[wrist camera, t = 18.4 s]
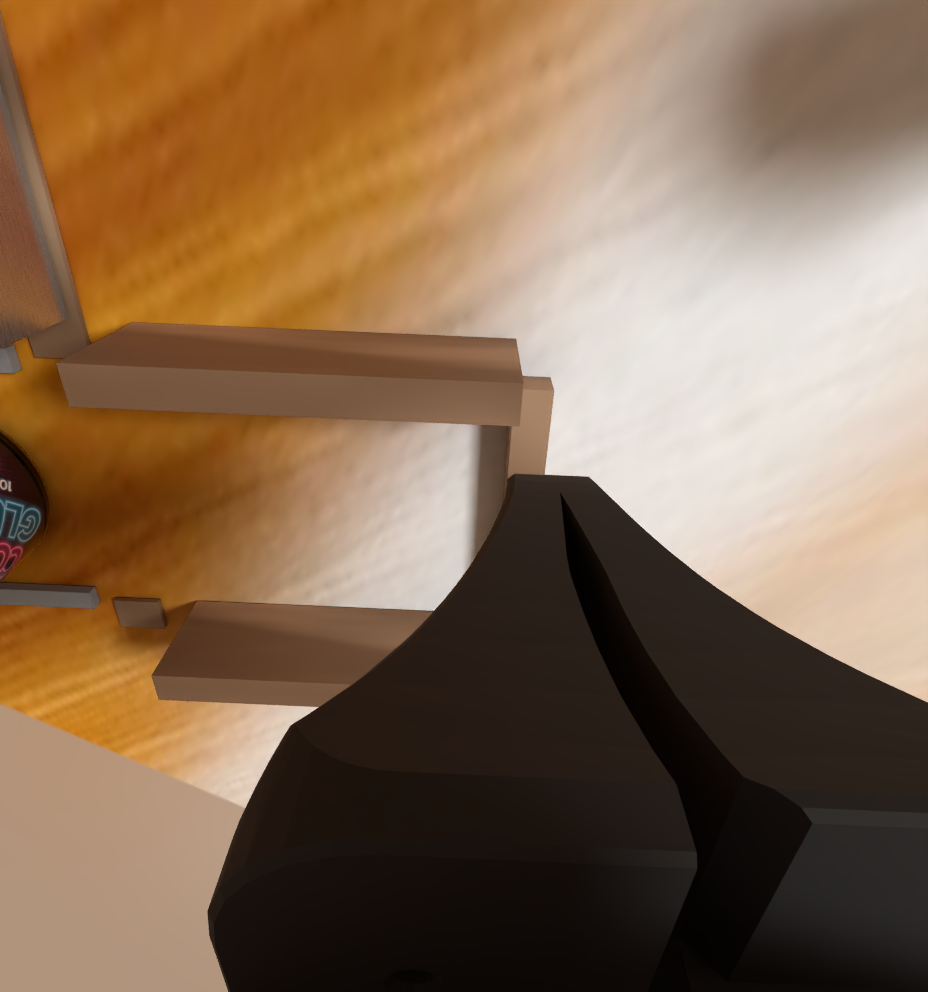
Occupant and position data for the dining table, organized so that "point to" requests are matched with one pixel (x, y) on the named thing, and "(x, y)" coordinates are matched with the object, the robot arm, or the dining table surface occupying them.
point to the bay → (41, 593)
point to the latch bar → (22, 249)
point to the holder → (277, 392)
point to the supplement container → (20, 505)
